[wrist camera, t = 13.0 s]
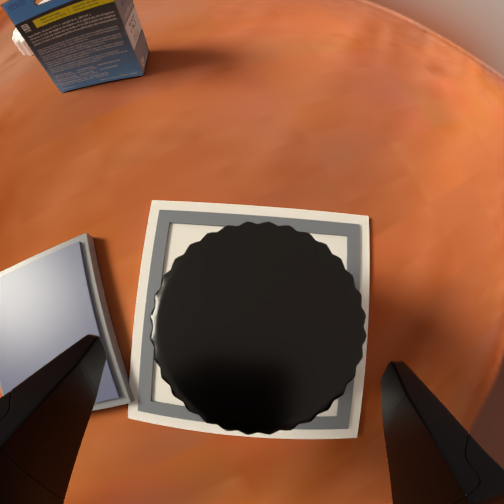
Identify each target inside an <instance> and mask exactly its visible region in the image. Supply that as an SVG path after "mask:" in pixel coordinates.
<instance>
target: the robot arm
mask: <svg viewBox="0 0 504 504" xmlns="http://www.w3.org/2000/svg"><path fill="white" fill-rule="evenodd" d="M105 363H106V351H105V348H104V346H103V343H102V340H101V338H100V337H99V336H97V335H92V334H88V335H86V336H84V337H83V338H82V339H80V340H79V341H77V342H76V343H75V344H73V345H72V346H70V347H69V348H68V349H66V350H65V351H63V352H62V353H61V354H59V355H58V356H57V357H55V358H54V359H52V360H51V361H50V362H48V363H47V364H46V365H44V366H43V367H42V368H40V369H39V370H37V371H36V372H35V373H33V374H32V375H31V376H29V377H28V378H27V379H25V380H24V381H23V382H21V383H20V384H19V385H17V386H16V387H15V388H13V389H12V390H11V391H9V392H8V393H7V394H5V395H4V396H3V397H1V398H0V504H63V503H64V499H65V495H66V491H67V488H68V484H69V481H70V477H71V474H72V471H73V467H74V464H75V461H76V457H77V454H78V451H79V448H80V445H81V442H82V439H83V436H84V433H85V430H86V427H87V424H88V421H89V418H90V415H91V412H92V410H93V407H94V404H95V401H96V398H97V394H98V390H99V386H100V382H101V378H102V374H103V370H104V366H105ZM381 397H382V416H383V429H384V436H385V442H386V449H387V457H388V464H389V472H390V481H391V490H392V500H393V504H504V469H503V468H502V467H501V466H500V465H499V464H497V462H495V461H494V460H493V459H492V458H491V457H490V456H489V455H488V454H487V453H486V452H485V451H484V450H483V449H482V448H481V446H480V445H479V444H478V443H477V442H476V441H475V440H474V439H473V438H472V436H471V435H470V434H468V432H467V431H466V430H465V429H464V428H463V426H462V425H461V424H460V423H459V422H458V421H457V420H456V418H455V417H454V416H453V415H452V414H451V413H450V412H449V411H448V410H447V408H446V407H445V406H444V405H443V404H442V403H441V402H440V401H439V400H438V398H437V397H436V396H435V395H434V394H433V393H432V392H431V391H430V390H429V389H428V388H427V386H426V385H425V384H424V383H423V382H422V381H421V380H420V379H419V378H418V377H417V376H416V374H415V373H414V372H413V371H412V370H411V369H410V368H409V367H408V366H407V365H406V364H405V363H404V362H403V361H391V362H390V363H389V364H388V366H387V368H386V370H385V372H384V374H383V376H382V378H381Z"/></svg>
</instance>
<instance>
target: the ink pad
mask: <svg viewBox="0 0 504 504" xmlns="http://www.w3.org/2000/svg"><path fill="white" fill-rule="evenodd" d="M88 334H92V335H97V336H99V337H100V338H101V340H102V343H103V346H104V348H105V351H106V363H105V366H104V370H103V374H102V378H101V382H100V386H99V390H98V394H97V398H96V401H95V404H94V407H93V410H92V411H94V410H99V409H104V408H109V407H114V406H119V405H123V404H128V403H131V402H133V401H135V400H134V397H133V394H132V391H131V388H130V386H129V377H128V374H127V371H126V368H125V365H124V362H123V358H122V355H121V352H120V349H119V345H118V342H117V339H116V335H115V332H114V328H113V324H112V321H111V317H110V313H109V309H108V305H107V301H106V297H105V293H104V289H103V284H102V280H101V276H100V271H99V266H98V261H97V256H96V251H95V246H94V240H93V237H92V236H90V235H89V234H87V233H85V234H82V235H80V236H78V237H75V238H73V239H71V240H68V241H66V242H64V243H62V244H59V245H57V246H55V247H53V248H50V249H48V250H46V251H44V252H42V253H39V254H37V255H35V256H33V257H31V258H29V259H27V260H24V261H22V262H20V263H18V264H16V265H14V266H12V267H10V268H8V269H6V270H4V271H2V272H0V388H1V392H2V395H3V396H4V395H5V394H7V393H8V392H9V391H11V390H12V389H13V388H15V387H16V386H17V385H19V384H20V383H21V382H23V381H24V380H25V379H27V378H28V377H29V376H31V375H32V374H33V373H35V372H36V371H37V370H39V369H40V368H42V367H43V366H44V365H46V364H47V363H48V362H50V361H51V360H52V359H54V358H55V357H57V356H58V355H59V354H61V353H62V352H63V351H65V350H66V349H68V348H69V347H70V346H72V345H73V344H75V343H76V342H77V341H79V340H80V339H82V338H83V337H84V336H86V335H88Z"/></svg>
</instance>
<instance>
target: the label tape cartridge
mask: <svg viewBox="0 0 504 504" xmlns="http://www.w3.org/2000/svg"><path fill="white" fill-rule="evenodd" d="M35 1H36V0H9V1H7V2H5V3H3V4H2V5H1V6H2V7H3V9H4V10H5V12H6V13H7V15H8V16H9V18H10V19H11V21H12V22H13V24H14V25H15V27H16V28H17V30H18V31H19V33H20V34H21V36H22V37H23V39H24V40H25V41H26V43H27V44H28V46H29V47H30V49H31V50H32V52H33V53H34V55H35V56H36V58H37V59H38V60H39V62H40V63H41V65H42V66H43V68H44V69H45V71H46V72H47V73H48V75H49V76H50V78H51V79H52V80H53V82H54V83H55V85H56V86H57V88H58V89H59V90H60V92H62V93H63V92H67V91H70V90H74V89H77V88H81V87H85V86H90V85H94V84H99V83H103V82H108V81H113V80H118V79H124V78H130V77H136V76H142V75H144V71H145V67H146V63H147V58H148V55H149V49H148V45H147V42H146V39H145V36H144V33H143V30H142V27H141V24H140V21H139V18H138V15H137V12H136V9H135V6H134V4H133V0H49V1H47V2H45V3H42V4H39V5H38V4H36V3H35Z"/></svg>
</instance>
